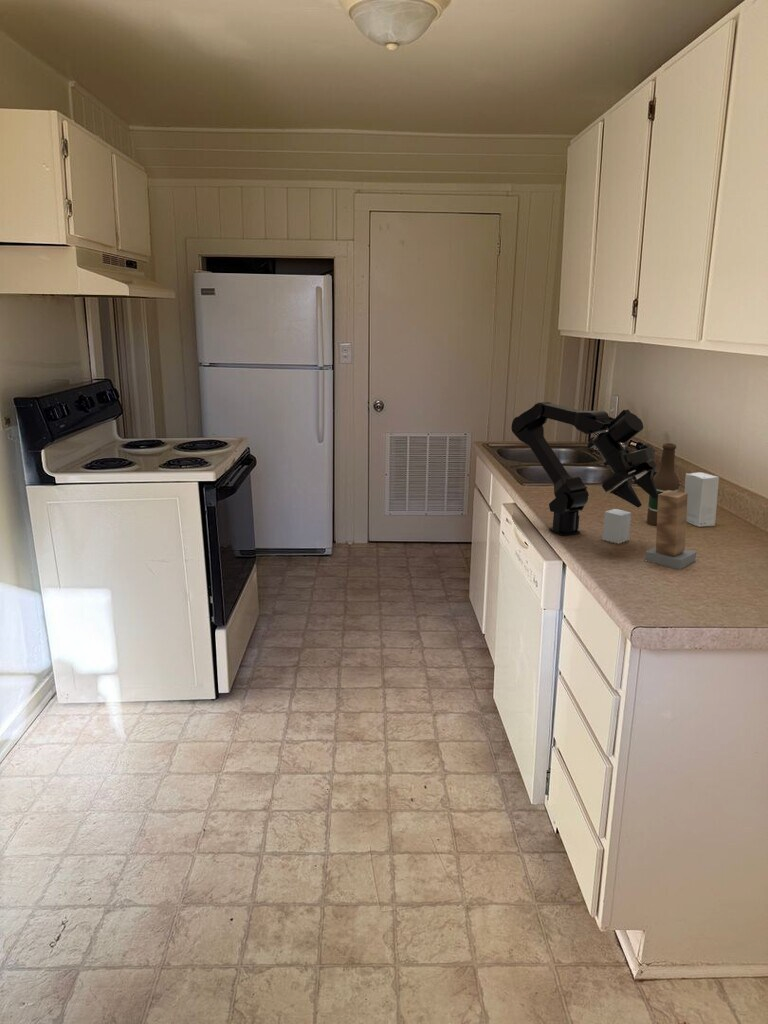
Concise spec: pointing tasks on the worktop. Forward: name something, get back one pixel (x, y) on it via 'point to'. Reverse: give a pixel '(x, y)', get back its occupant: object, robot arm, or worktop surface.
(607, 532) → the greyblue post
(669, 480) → the beer bottle
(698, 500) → the skincare box
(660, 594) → the worktop surface
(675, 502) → the walnut post
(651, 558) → the greyblue square slab
